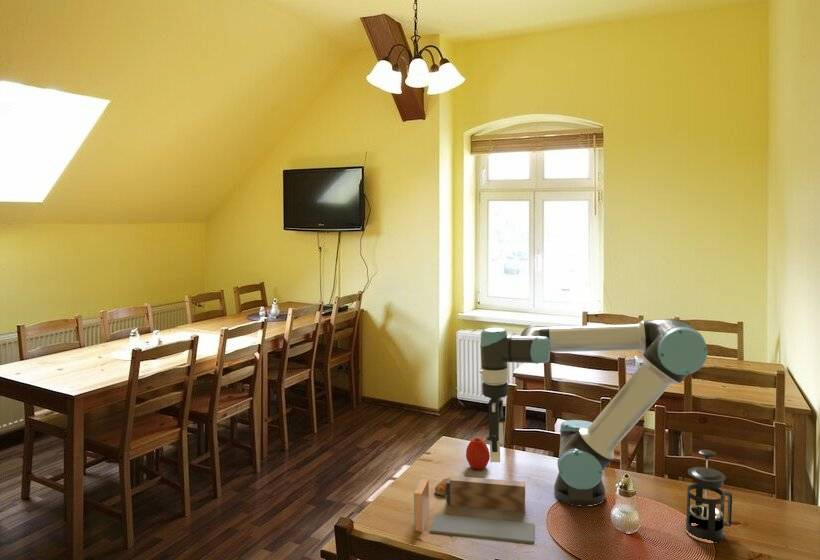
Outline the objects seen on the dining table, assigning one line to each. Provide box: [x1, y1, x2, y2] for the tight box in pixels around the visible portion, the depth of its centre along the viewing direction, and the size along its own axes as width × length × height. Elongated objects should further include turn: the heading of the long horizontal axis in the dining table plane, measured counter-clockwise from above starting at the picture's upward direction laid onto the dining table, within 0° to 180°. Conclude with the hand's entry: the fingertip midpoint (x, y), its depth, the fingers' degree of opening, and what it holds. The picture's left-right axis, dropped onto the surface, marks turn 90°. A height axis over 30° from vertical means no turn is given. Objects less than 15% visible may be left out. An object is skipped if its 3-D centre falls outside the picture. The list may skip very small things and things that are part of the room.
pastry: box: [434, 476, 451, 497], centre depth 184 cm, size 9×7×4 cm
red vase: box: [465, 437, 490, 471], centre depth 200 cm, size 8×8×11 cm
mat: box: [429, 513, 536, 544], centre depth 161 cm, size 28×9×1 cm, turn 76°
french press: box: [685, 449, 733, 543], centre depth 155 cm, size 12×9×23 cm
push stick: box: [445, 475, 526, 513], centre depth 174 cm, size 23×3×8 cm, turn 76°
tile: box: [413, 478, 430, 533], centre depth 165 cm, size 2×9×11 cm, turn 166°
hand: (497, 452), depth 171 cm, fingers open, 13 cm apart
